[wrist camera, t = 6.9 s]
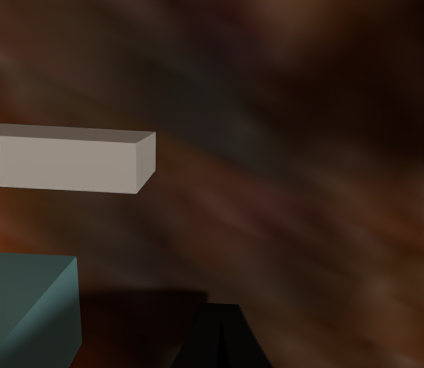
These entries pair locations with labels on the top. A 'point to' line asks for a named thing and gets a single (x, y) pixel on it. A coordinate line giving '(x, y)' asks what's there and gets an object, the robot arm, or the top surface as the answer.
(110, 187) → the white square frame
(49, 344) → the teal block
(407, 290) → the top surface
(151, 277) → the top surface
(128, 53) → the top surface
